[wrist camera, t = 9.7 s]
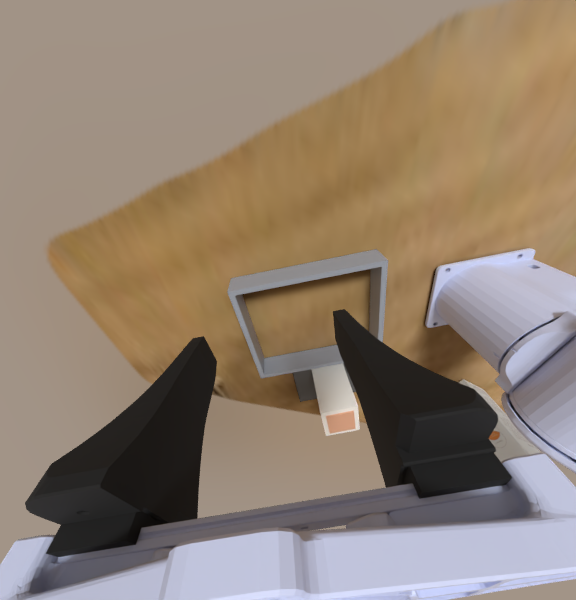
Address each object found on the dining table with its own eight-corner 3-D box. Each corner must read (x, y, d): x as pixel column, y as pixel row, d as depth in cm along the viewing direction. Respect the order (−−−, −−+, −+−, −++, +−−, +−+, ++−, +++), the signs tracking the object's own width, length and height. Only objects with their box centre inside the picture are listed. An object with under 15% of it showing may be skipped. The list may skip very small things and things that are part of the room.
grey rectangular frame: (376, 249, 22) (388, 260, 20) (373, 340, 28) (381, 356, 26) (231, 278, 22) (227, 292, 20) (261, 361, 29) (261, 378, 27)
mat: (360, 348, 29) (362, 351, 29) (361, 387, 33) (362, 390, 33) (290, 361, 29) (290, 365, 29) (299, 398, 34) (300, 401, 33)
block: (342, 361, 29) (358, 407, 24) (345, 385, 32) (360, 431, 27) (311, 368, 29) (320, 414, 24) (316, 391, 32) (326, 437, 27)
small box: (441, 414, 39) (491, 490, 31) (420, 406, 38) (467, 485, 29) (483, 388, 36) (553, 465, 27) (463, 377, 34) (531, 457, 25)
